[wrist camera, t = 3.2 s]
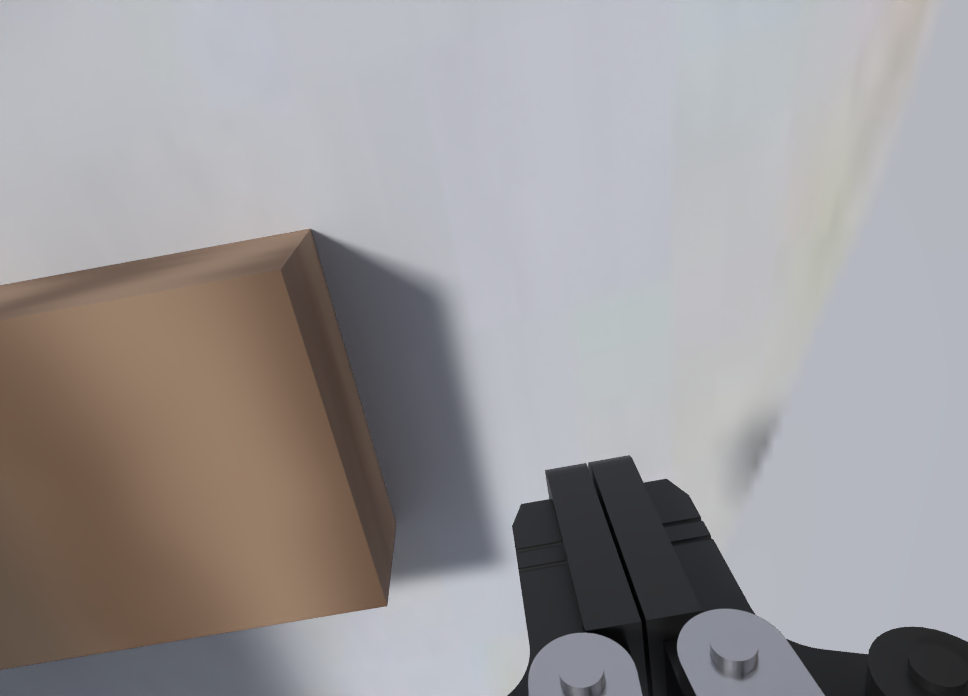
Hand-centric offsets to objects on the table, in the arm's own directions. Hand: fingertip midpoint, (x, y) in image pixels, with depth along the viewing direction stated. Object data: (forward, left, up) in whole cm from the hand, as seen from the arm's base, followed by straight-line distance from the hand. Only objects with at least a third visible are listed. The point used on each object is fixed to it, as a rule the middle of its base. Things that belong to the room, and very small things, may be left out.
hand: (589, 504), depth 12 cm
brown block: (+11, 0, -7) cm, 13 cm away
